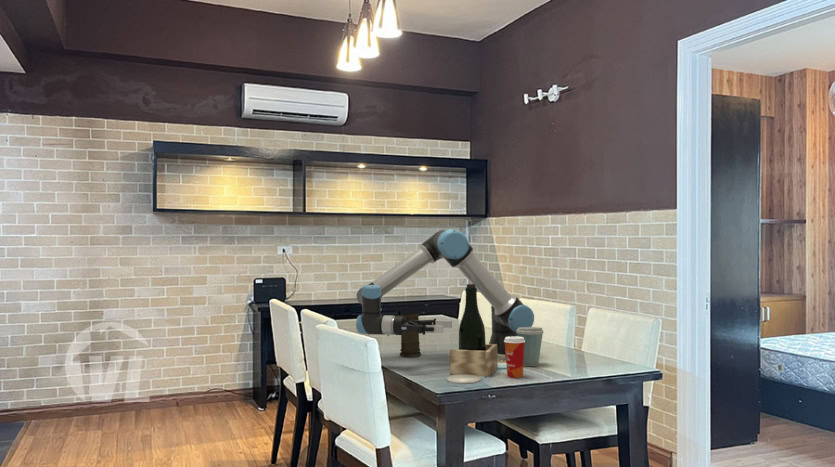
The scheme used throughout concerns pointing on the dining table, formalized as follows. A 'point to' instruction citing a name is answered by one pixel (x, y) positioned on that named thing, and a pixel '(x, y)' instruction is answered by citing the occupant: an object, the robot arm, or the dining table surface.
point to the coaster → (463, 378)
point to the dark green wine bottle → (471, 323)
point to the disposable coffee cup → (531, 344)
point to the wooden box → (474, 361)
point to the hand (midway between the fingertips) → (447, 326)
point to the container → (410, 339)
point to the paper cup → (514, 356)
